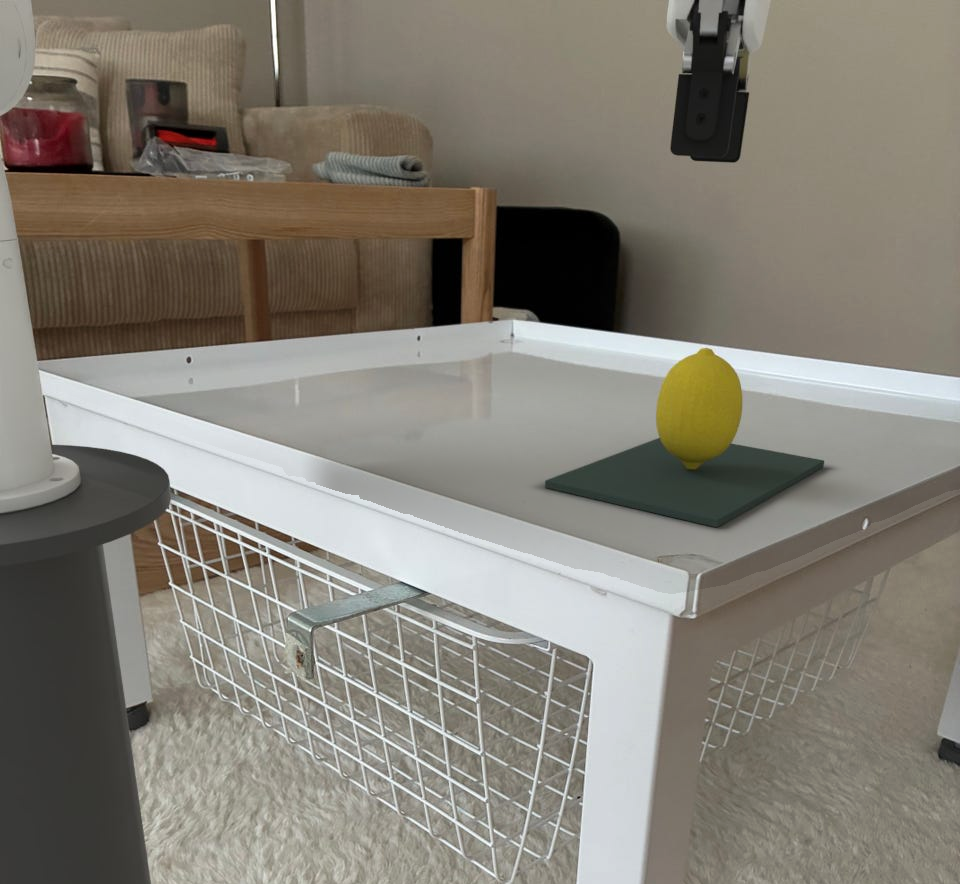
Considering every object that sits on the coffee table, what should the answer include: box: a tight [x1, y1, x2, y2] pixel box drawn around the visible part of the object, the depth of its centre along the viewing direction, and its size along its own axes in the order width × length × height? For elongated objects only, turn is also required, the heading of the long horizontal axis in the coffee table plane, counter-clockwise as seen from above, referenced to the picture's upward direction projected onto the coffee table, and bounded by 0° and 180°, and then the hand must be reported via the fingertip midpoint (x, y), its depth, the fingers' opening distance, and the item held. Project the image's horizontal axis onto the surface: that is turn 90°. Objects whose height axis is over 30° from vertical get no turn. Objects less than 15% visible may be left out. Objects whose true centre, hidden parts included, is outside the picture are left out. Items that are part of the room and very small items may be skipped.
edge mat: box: [544, 437, 825, 528], centre depth 67 cm, size 18×12×1 cm, turn 143°
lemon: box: [655, 347, 743, 470], centre depth 65 cm, size 6×6×8 cm
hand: (706, 158), depth 60 cm, fingers open, 9 cm apart
